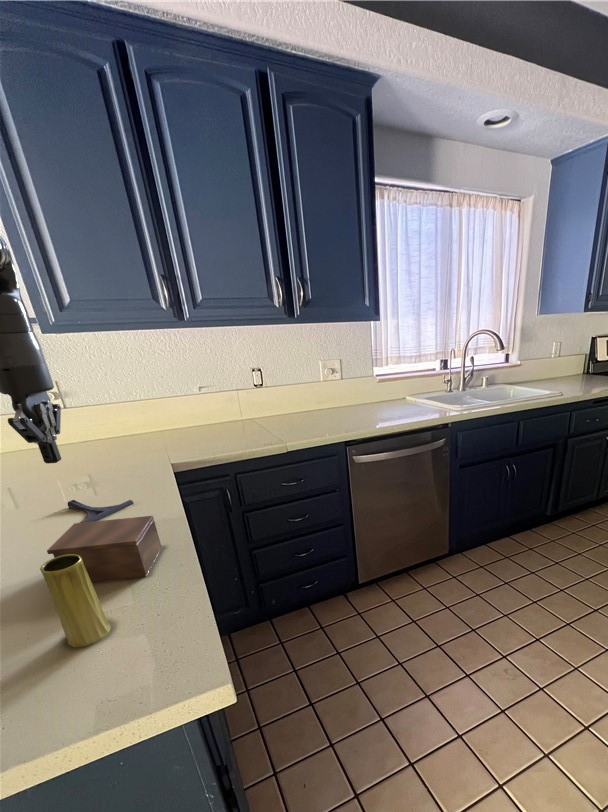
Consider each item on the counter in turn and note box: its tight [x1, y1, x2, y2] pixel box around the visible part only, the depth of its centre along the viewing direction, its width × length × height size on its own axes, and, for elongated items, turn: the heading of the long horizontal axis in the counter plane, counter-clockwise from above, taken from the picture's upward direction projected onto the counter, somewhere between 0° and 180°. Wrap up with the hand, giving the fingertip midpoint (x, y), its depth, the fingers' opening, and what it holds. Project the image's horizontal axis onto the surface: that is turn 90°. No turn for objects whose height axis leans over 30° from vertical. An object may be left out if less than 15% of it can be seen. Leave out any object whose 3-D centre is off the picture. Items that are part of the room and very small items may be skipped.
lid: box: [46, 515, 155, 555], centre depth 86 cm, size 15×12×1 cm
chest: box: [52, 519, 163, 584], centre depth 88 cm, size 15×12×8 cm
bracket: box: [67, 499, 134, 523], centre depth 114 cm, size 14×15×3 cm
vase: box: [39, 554, 112, 648], centre depth 67 cm, size 6×6×14 cm
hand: (53, 461), depth 78 cm, fingers closed
